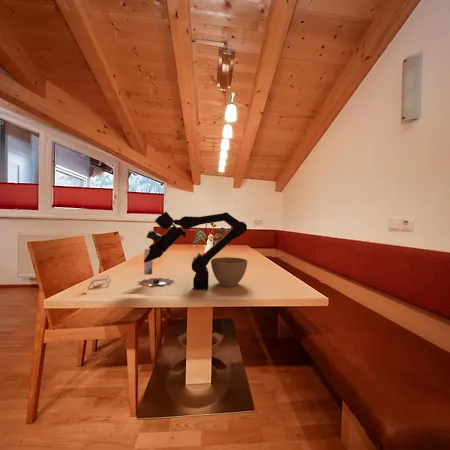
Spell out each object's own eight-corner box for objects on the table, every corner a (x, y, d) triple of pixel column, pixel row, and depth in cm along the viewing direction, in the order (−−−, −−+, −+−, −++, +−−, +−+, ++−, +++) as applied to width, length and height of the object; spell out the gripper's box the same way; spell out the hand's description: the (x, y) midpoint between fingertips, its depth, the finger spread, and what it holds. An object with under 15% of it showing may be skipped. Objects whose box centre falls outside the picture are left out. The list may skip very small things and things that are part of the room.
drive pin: (152, 272, 111) (152, 249, 111) (152, 274, 108) (152, 250, 107) (144, 273, 110) (144, 249, 110) (143, 274, 106) (144, 250, 106)
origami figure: (106, 292, 101) (107, 281, 101) (86, 292, 100) (86, 280, 100) (117, 285, 113) (117, 274, 113) (98, 284, 112) (99, 274, 112)
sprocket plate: (177, 281, 122) (177, 275, 122) (171, 291, 105) (171, 284, 105) (143, 280, 122) (143, 274, 122) (131, 290, 105) (131, 283, 105)
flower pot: (222, 278, 132) (223, 256, 131) (252, 283, 122) (253, 259, 122) (203, 285, 116) (203, 260, 116) (235, 291, 107) (236, 264, 107)
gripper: (160, 224, 118) (137, 246, 117) (154, 225, 99) (126, 251, 98) (176, 240, 119) (153, 262, 118) (173, 244, 101) (145, 270, 99)
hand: (145, 261), depth 108 cm, fingers closed on drive pin, 4 cm apart
